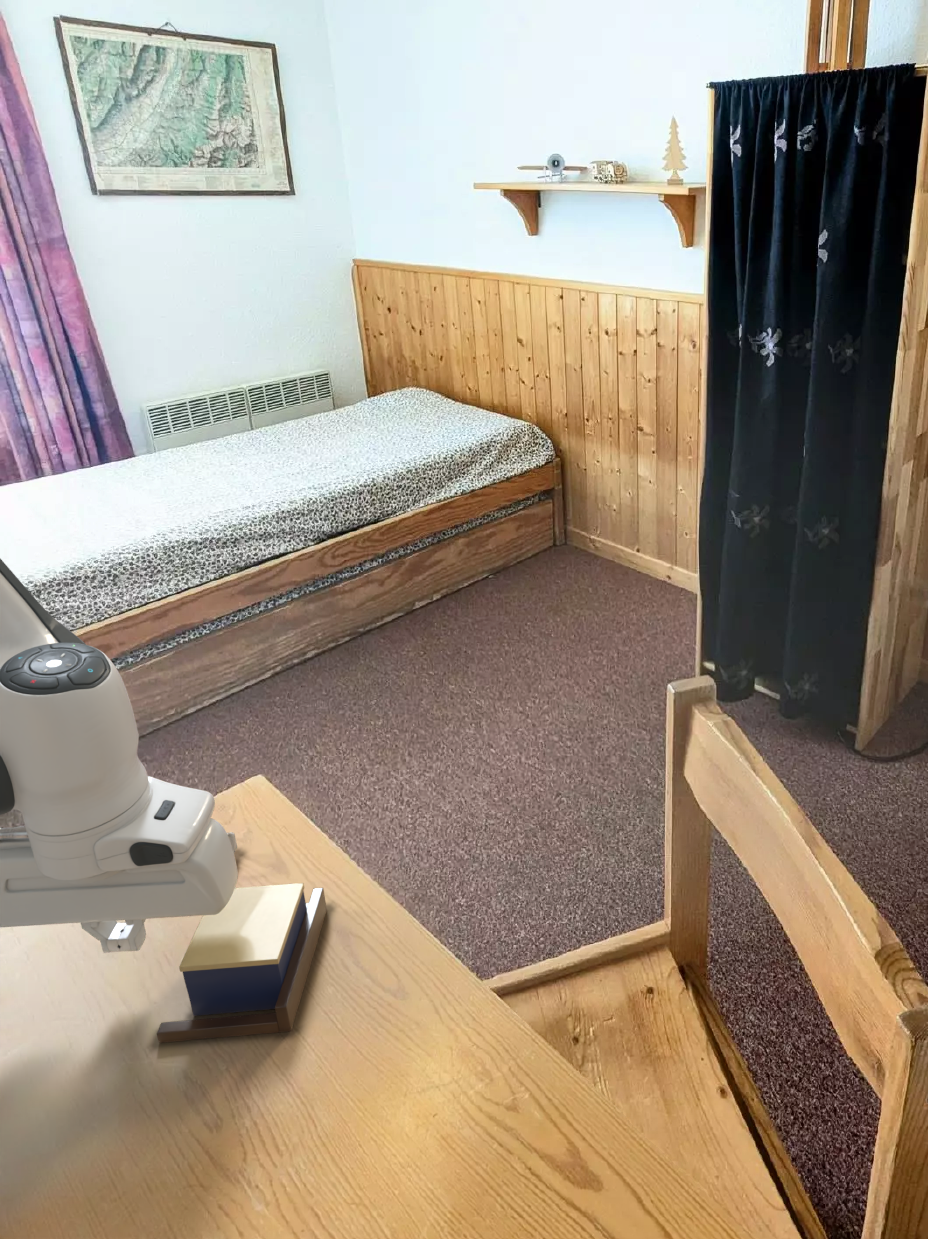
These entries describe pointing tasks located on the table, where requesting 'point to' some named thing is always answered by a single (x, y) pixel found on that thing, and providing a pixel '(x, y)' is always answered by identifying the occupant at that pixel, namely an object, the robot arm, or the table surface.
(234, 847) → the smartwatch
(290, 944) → the toy box
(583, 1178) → the table surface
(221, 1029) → the bay
